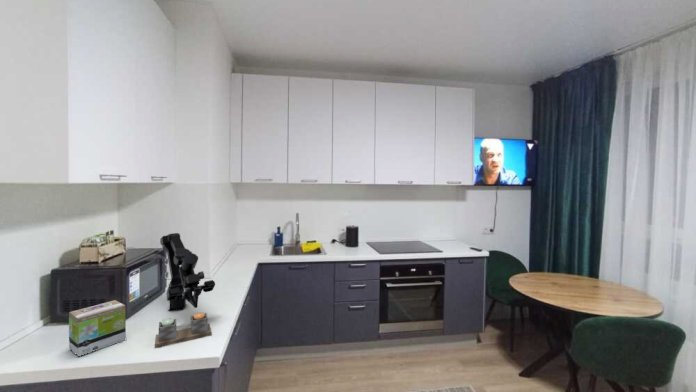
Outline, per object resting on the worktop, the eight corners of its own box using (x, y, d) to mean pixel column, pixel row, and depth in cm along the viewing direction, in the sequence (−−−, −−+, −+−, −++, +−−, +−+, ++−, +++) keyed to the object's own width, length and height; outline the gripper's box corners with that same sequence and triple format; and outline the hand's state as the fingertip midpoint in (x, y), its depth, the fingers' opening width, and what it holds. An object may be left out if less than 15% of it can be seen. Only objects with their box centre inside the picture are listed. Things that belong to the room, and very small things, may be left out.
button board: (154, 348, 115) (154, 330, 115) (155, 338, 122) (155, 321, 122) (211, 335, 125) (211, 318, 125) (209, 326, 132) (209, 311, 132)
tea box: (78, 358, 108) (77, 318, 107) (68, 350, 113) (67, 311, 113) (126, 340, 121) (125, 304, 120) (115, 333, 126) (115, 298, 125)
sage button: (160, 328, 118) (159, 323, 118) (163, 323, 122) (163, 318, 122) (171, 327, 119) (171, 322, 119) (175, 322, 123) (174, 317, 123)
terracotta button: (192, 321, 124) (192, 317, 124) (194, 317, 128) (194, 312, 128) (203, 320, 125) (203, 315, 125) (205, 316, 129) (205, 311, 129)
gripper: (167, 270, 126) (175, 304, 118) (213, 262, 138) (222, 292, 131) (163, 284, 132) (170, 317, 124) (207, 275, 144) (216, 304, 137)
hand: (196, 307), depth 129 cm, fingers closed
